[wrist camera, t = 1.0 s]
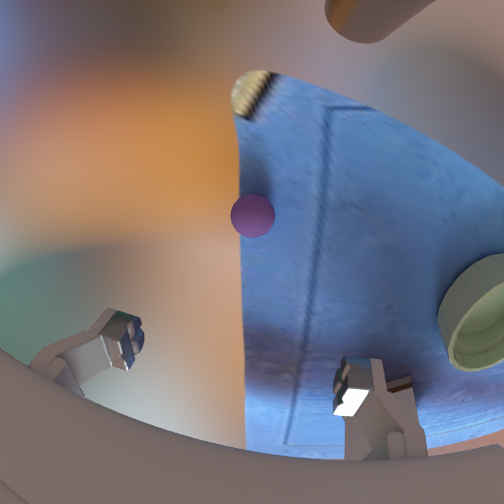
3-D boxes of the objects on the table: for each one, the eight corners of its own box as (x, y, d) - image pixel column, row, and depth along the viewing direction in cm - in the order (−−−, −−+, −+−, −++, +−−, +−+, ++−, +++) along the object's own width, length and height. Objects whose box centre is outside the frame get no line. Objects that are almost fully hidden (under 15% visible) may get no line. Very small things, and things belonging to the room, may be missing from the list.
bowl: (465, 241, 23) (487, 268, 19) (537, 261, 22) (558, 284, 17) (418, 339, 30) (427, 371, 25) (492, 343, 28) (504, 370, 24)
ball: (237, 186, 25) (226, 199, 22) (279, 191, 25) (274, 205, 22) (235, 223, 27) (224, 241, 24) (274, 229, 26) (269, 248, 23)
